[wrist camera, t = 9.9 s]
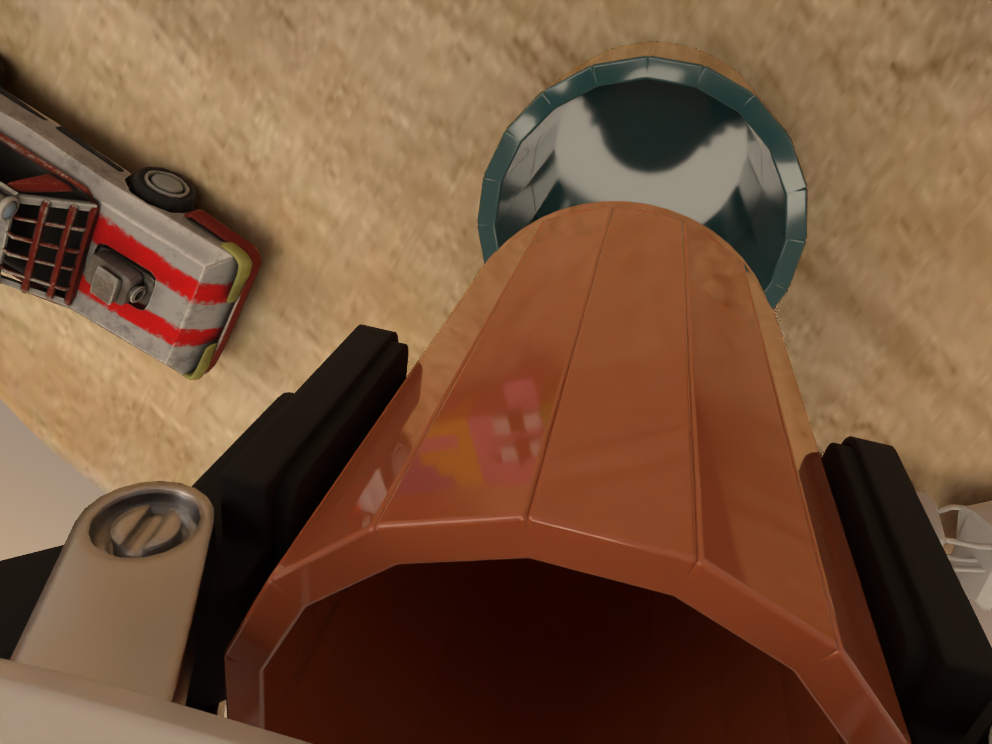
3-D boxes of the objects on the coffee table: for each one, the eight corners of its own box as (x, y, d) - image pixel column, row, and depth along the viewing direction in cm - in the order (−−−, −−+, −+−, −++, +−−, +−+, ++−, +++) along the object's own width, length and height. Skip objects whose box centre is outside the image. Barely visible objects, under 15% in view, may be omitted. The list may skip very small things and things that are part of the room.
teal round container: (816, 67, 25) (861, 92, 19) (732, 319, 29) (747, 404, 23) (542, 20, 26) (502, 29, 20) (503, 270, 31) (461, 339, 25)
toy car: (228, 363, 36) (127, 447, 29) (-99, 154, 34) (-284, 193, 28) (285, 240, 32) (184, 305, 25) (-81, -1, 31) (-289, 2, 24)
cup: (823, 238, 12) (1079, 657, 5) (721, 508, 15) (771, 1046, 7) (484, 170, 13) (206, 433, 5) (448, 441, 16) (234, 869, 8)
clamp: (571, 486, 34) (566, 593, 28) (580, 419, 33) (576, 519, 27) (1014, 539, 33) (1106, 664, 27) (1050, 472, 31) (1157, 591, 25)
